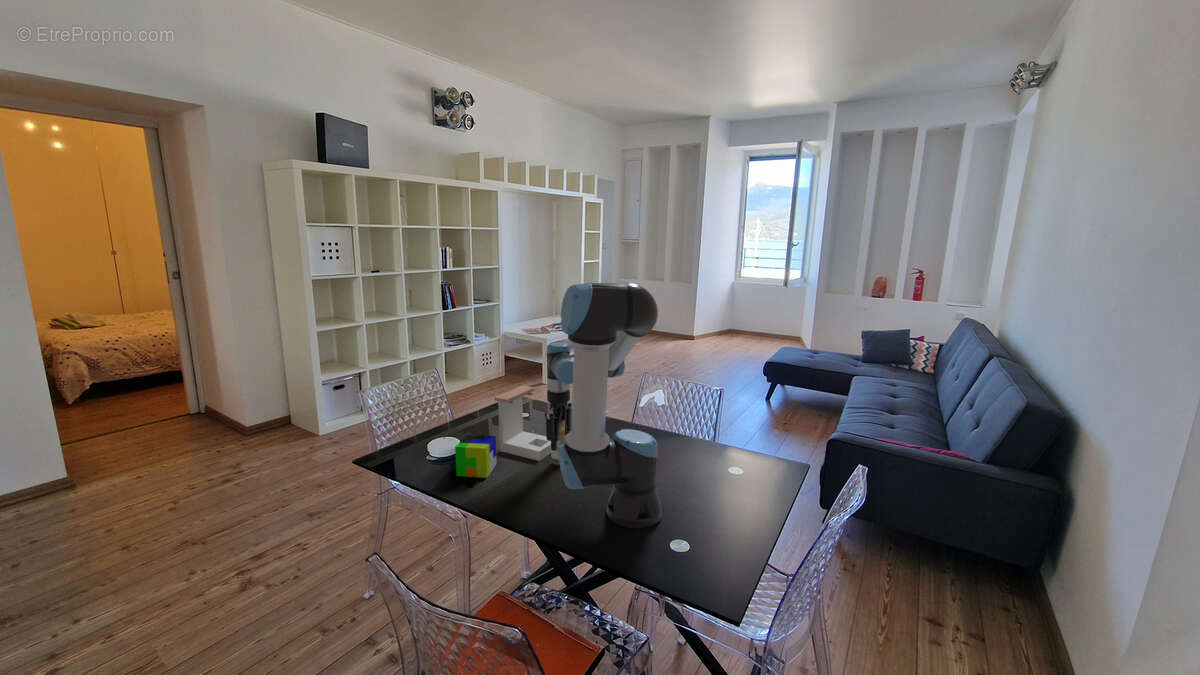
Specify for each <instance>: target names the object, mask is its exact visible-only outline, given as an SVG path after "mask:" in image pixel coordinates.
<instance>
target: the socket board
mask: <svg viewBox="0 0 1200 675" xmlns="http://www.w3.org/2000/svg"><path fill="white" fill-rule="evenodd" d="M499 451H500V452H502V453H506V454H510V455H515V456H518V457H522V458H526V459H529V460H530V459H531V460H534V461H538V462H540V461H542V460H543V459H545V458H547V456H549V455H550V454H551V441H548V440H547V436H545V435H543V434H542V435H541V434H538V433H533V432H532V433H531V432H527V431H525V430H523V432H521V433H519V434H518V435H516V436H514V437H512V438H511V439H509V440H507V441H505V442H503V443H502V442H500V441H499Z"/></svg>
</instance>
